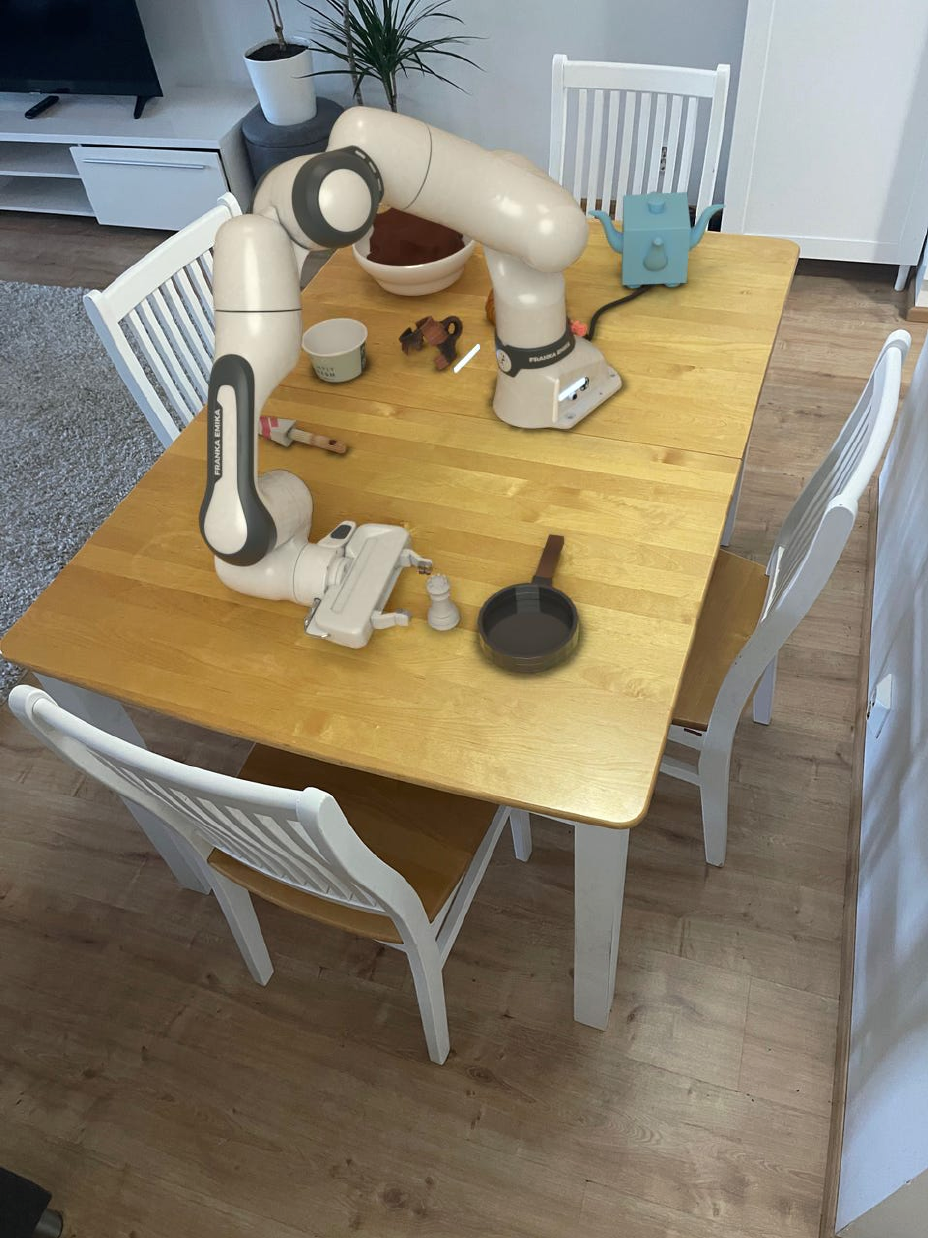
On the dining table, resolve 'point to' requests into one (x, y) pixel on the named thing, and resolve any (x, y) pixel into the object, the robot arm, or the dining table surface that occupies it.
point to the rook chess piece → (441, 604)
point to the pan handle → (549, 560)
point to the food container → (337, 348)
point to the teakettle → (655, 237)
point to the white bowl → (412, 253)
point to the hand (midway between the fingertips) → (421, 592)
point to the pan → (528, 627)
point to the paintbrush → (295, 434)
